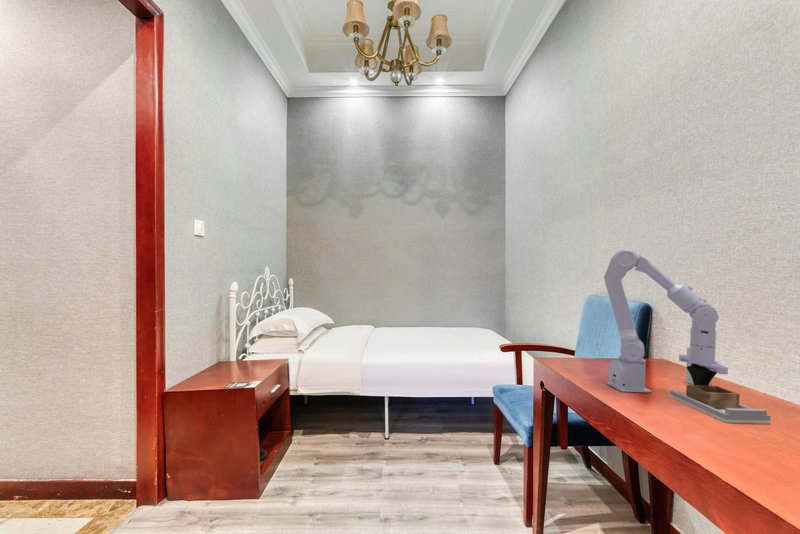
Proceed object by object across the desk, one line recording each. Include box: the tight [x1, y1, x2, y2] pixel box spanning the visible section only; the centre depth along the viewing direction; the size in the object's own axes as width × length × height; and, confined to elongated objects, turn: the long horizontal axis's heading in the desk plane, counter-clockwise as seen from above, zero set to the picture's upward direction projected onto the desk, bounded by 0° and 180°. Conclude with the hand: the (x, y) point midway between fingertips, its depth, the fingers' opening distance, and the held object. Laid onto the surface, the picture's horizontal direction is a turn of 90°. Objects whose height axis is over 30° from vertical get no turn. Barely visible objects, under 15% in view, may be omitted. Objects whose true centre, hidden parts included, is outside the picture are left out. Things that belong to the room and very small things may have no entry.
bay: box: [669, 389, 771, 425], centre depth 101 cm, size 12×18×3 cm, turn 2°
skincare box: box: [685, 346, 713, 386], centre depth 123 cm, size 6×4×12 cm
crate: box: [685, 384, 741, 409], centre depth 102 cm, size 9×7×4 cm
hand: (700, 392), depth 107 cm, fingers closed
